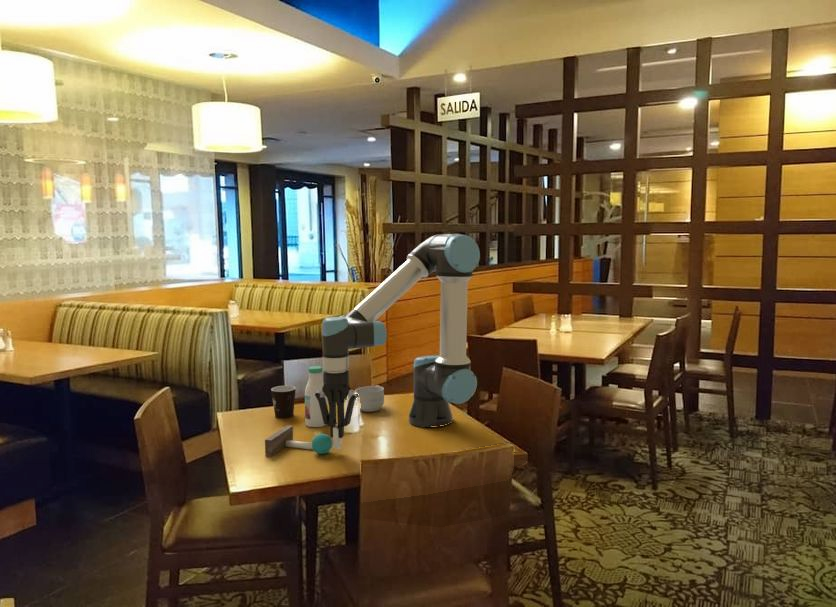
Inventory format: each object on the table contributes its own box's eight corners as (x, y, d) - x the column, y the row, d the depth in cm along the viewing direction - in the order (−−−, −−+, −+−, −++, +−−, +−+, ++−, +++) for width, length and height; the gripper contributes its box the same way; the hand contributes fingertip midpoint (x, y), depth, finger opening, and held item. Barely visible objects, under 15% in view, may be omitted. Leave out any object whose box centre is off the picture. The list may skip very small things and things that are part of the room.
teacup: (372, 415, 228) (372, 393, 227) (349, 411, 234) (348, 389, 233) (394, 406, 240) (394, 385, 239) (371, 402, 245) (371, 382, 244)
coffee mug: (273, 412, 232) (272, 386, 231) (297, 412, 233) (296, 385, 231) (269, 422, 220) (268, 394, 219) (294, 421, 221) (293, 393, 220)
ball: (321, 426, 191) (313, 441, 193) (313, 435, 186) (305, 450, 188) (338, 437, 191) (330, 452, 193) (331, 445, 185) (322, 461, 187)
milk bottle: (330, 421, 221) (329, 365, 219) (325, 428, 214) (323, 370, 211) (308, 420, 222) (307, 364, 220) (302, 427, 214) (301, 369, 212)
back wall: (293, 441, 201) (292, 426, 200) (271, 456, 187) (271, 440, 187) (287, 440, 201) (286, 425, 201) (265, 456, 188) (264, 439, 187)
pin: (313, 450, 194) (287, 447, 196) (315, 444, 195) (289, 441, 197) (311, 448, 192) (284, 445, 195) (312, 442, 193) (286, 439, 196)
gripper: (361, 368, 188) (362, 445, 191) (320, 366, 191) (322, 442, 194) (352, 374, 181) (353, 454, 184) (309, 371, 184) (311, 450, 187)
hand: (337, 447), depth 189 cm, fingers closed
